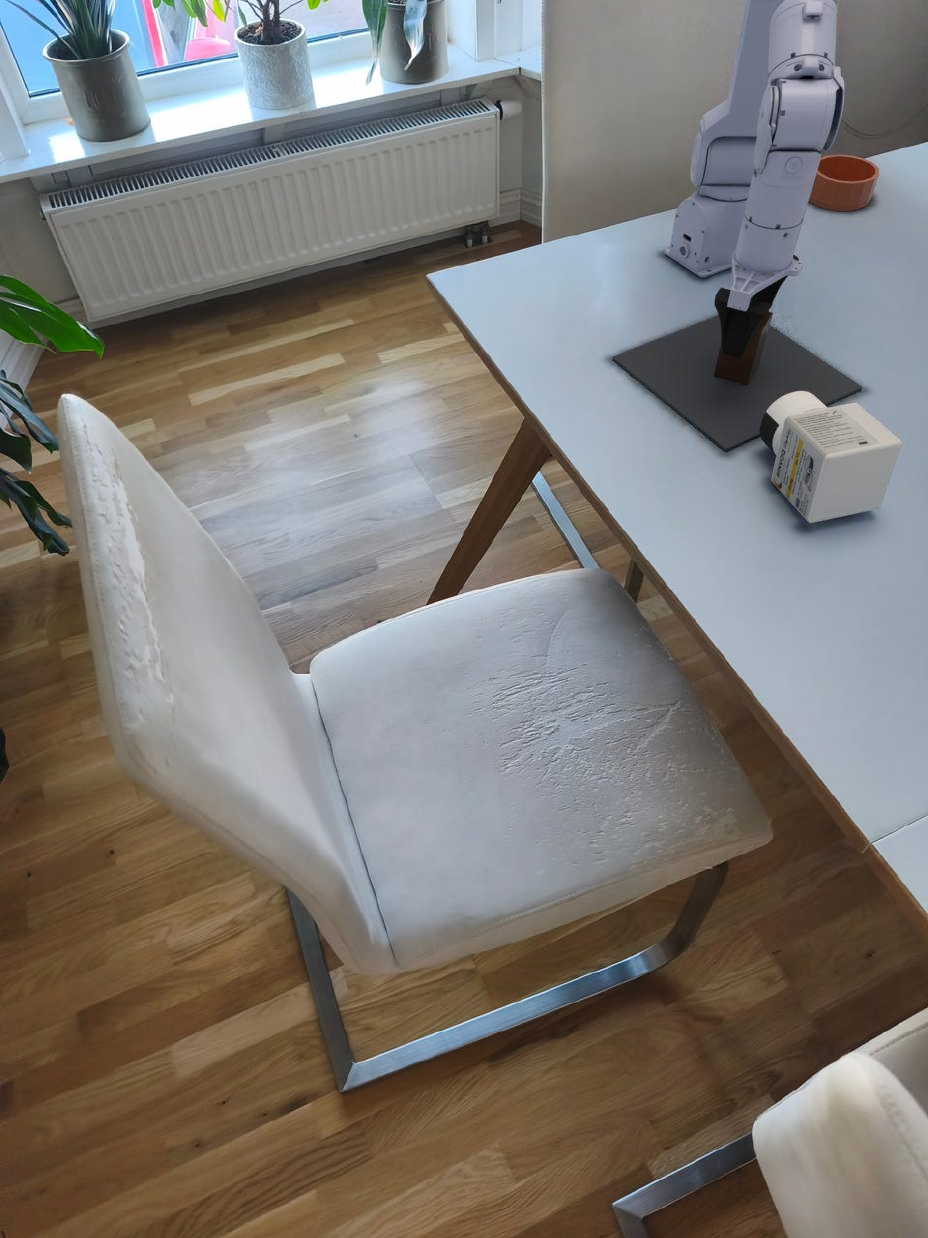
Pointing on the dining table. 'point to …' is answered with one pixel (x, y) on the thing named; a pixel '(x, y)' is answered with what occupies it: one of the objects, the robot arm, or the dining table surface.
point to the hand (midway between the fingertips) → (743, 336)
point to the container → (828, 456)
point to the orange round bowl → (844, 183)
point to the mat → (721, 405)
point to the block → (744, 356)
